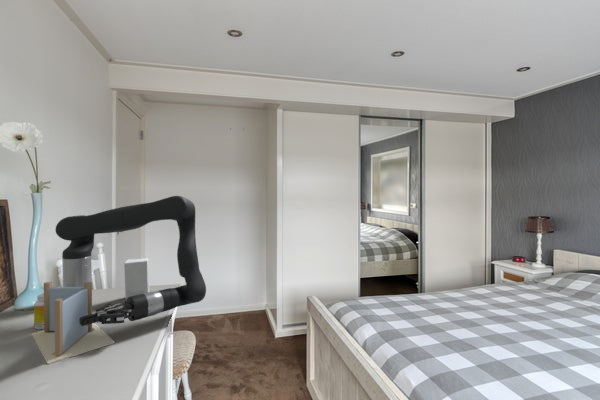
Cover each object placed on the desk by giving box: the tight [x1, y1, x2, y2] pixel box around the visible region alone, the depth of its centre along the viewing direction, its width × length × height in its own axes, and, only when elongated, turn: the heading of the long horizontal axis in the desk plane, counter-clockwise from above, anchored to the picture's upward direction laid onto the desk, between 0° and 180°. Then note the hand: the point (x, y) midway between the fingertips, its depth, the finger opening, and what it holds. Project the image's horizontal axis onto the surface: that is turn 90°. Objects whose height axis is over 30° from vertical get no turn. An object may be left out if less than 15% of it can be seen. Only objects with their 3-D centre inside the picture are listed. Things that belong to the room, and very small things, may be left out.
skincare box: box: [123, 257, 150, 300], centre depth 125 cm, size 8×7×16 cm
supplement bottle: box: [33, 292, 44, 330], centre depth 99 cm, size 6×6×10 cm
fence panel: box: [55, 289, 88, 356], centre depth 87 cm, size 14×1×14 cm, turn 9°
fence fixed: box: [43, 281, 93, 333], centre depth 95 cm, size 14×2×15 cm, turn 94°
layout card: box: [31, 323, 115, 365], centre depth 91 cm, size 23×15×1 cm, turn 48°
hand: (80, 321), depth 86 cm, fingers closed
